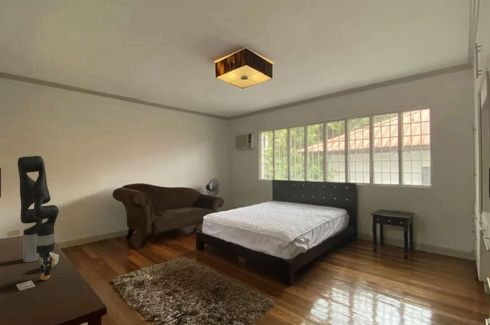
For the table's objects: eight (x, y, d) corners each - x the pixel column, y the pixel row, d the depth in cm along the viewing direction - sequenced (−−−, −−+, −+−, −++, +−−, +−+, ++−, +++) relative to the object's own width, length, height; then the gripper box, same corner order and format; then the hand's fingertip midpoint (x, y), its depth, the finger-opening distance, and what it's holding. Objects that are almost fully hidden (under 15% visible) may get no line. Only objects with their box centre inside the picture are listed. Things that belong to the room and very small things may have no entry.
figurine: (37, 278, 127) (39, 256, 128) (51, 275, 132) (53, 253, 133) (42, 283, 123) (43, 259, 123) (56, 279, 127) (58, 256, 128)
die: (48, 272, 136) (48, 254, 136) (35, 271, 137) (36, 253, 138) (62, 266, 144) (62, 249, 144) (50, 265, 146) (50, 248, 146)
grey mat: (16, 285, 121) (16, 284, 121) (31, 280, 126) (31, 280, 126) (19, 290, 115) (19, 290, 115) (35, 286, 120) (35, 285, 120)
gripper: (33, 241, 128) (32, 272, 128) (39, 247, 120) (39, 280, 119) (50, 238, 134) (50, 267, 134) (58, 243, 126) (57, 275, 125)
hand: (45, 273), depth 127 cm, fingers open, 7 cm apart
